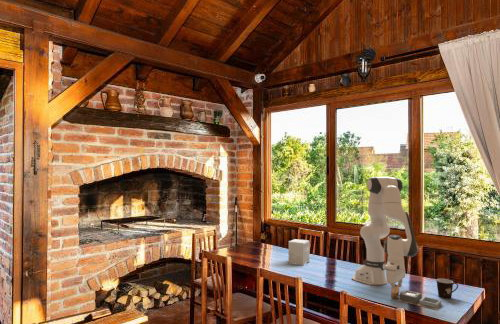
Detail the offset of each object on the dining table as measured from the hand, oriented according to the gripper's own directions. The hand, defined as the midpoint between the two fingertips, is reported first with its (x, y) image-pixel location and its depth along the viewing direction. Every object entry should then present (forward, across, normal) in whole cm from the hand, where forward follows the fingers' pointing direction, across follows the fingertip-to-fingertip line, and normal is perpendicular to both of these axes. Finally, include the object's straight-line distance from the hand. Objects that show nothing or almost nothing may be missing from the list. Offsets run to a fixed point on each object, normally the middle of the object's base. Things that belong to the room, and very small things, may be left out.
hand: (396, 288), depth 204 cm
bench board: (+7, -3, +11) cm, 13 cm away
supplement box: (+3, -34, -89) cm, 95 cm away
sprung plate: (+4, -3, +6) cm, 8 cm away
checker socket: (+6, -3, +6) cm, 9 cm away
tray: (+6, -3, +17) cm, 18 cm away
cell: (+6, 0, -1) cm, 7 cm away
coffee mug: (+7, -23, +21) cm, 32 cm away
